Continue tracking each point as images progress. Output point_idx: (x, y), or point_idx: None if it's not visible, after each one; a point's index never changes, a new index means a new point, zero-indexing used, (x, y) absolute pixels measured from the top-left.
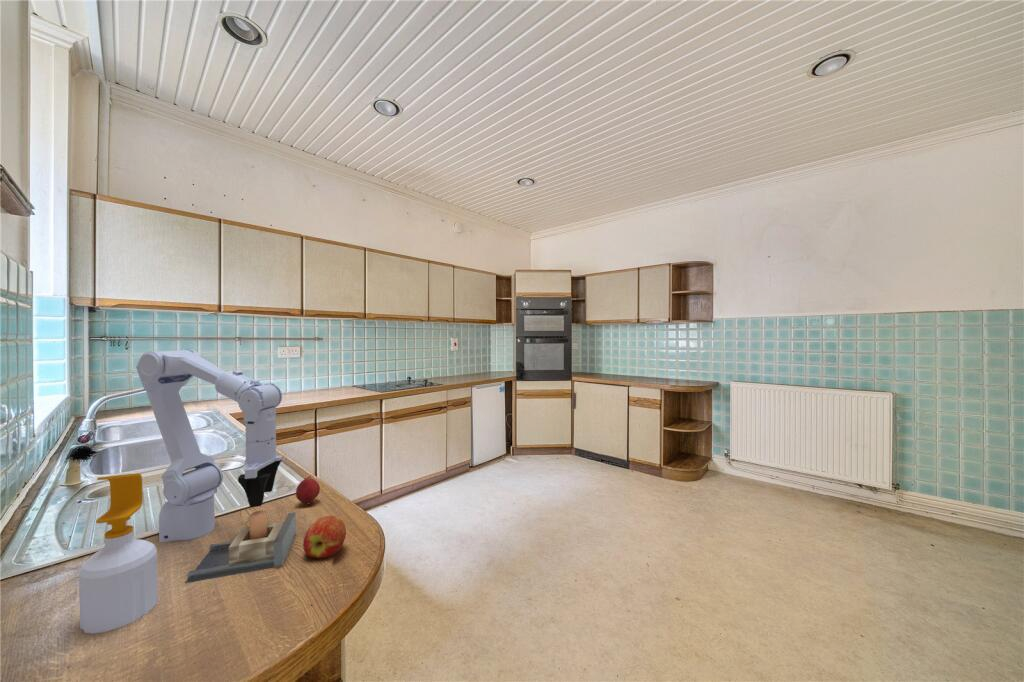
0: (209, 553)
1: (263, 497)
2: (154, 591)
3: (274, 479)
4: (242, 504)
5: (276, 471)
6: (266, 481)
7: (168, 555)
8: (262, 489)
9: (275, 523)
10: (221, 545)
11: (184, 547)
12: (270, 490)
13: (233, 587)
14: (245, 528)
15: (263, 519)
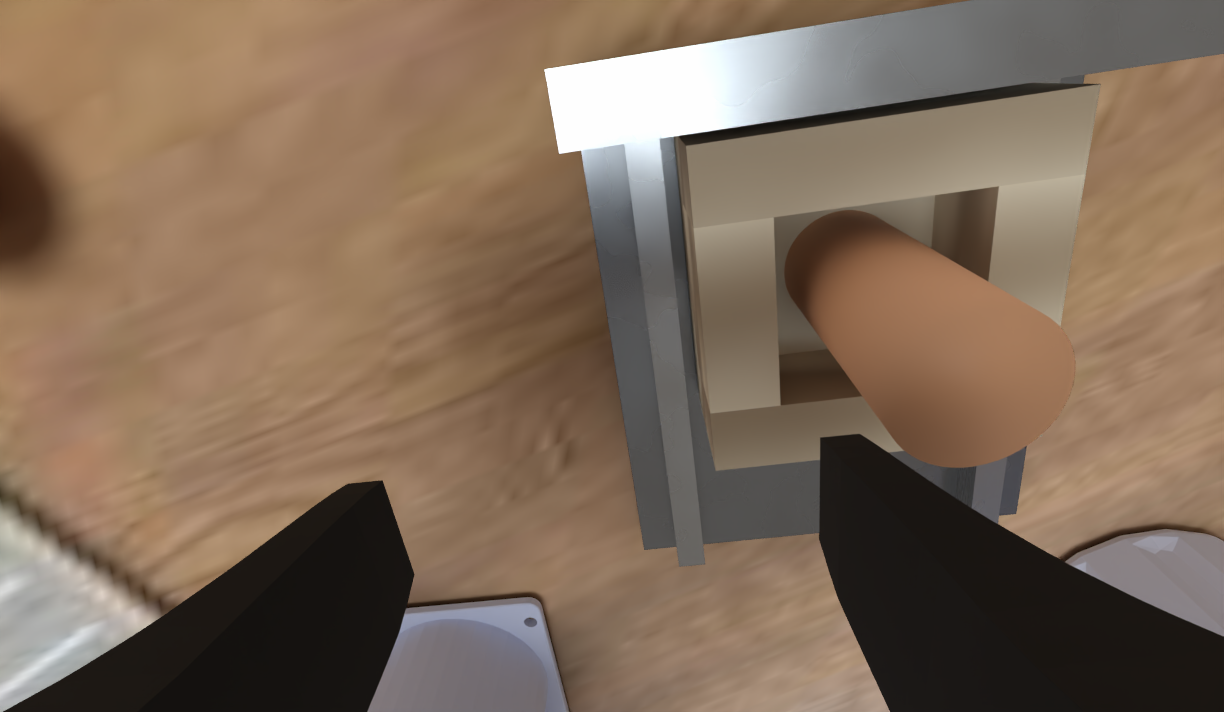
0: (729, 533)
1: (874, 477)
2: (1202, 596)
3: (236, 575)
4: (82, 617)
5: (72, 686)
6: (1182, 696)
7: (645, 683)
8: (1104, 593)
9: (708, 225)
10: (699, 511)
11: (580, 659)
12: (380, 498)
13: (1118, 259)
14: (743, 443)
15: (1013, 296)
